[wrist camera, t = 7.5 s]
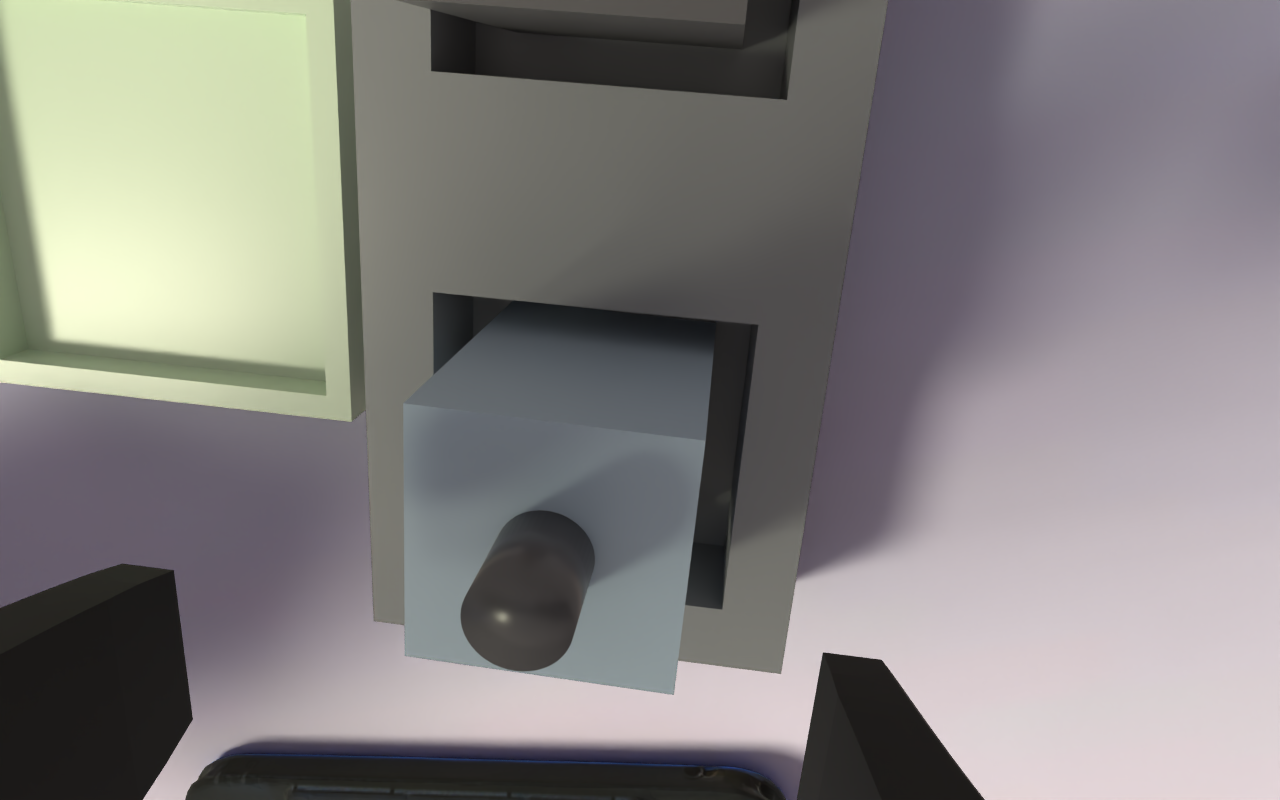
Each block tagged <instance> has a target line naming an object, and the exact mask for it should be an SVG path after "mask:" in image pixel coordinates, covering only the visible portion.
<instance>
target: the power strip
mask: <svg viewBox="0 0 1280 800" xmlns="http://www.w3.org/2000/svg"><path fill="white" fill-rule="evenodd" d="M887 5H888V0H748V3H747V12H746V21H745V30H744V38H743V47H742V50H740V49H727V48H714V47H701V46H688V45H675V44H662V43H649V42H636V41H623V40H609V39H596V38H583V37H570V36H557V35H544V34H531V33H518V32H513V31H510V30H506V29H502V28H498V27H495V26H491V25H487V24H483V23H480V22H476V21H472V20H468V19H465V18H461V17H457V16H454V15H450V14H446V13H442V12H439V11H435V10H431V9H427V8H424V7H420V6H416V5H412V4H409V3H405V2H401V1H397V0H351V24H352V50H353V77H354V104H355V131H356V158H357V184H358V211H359V238H360V265H361V291H362V318H363V345H364V372H365V399H366V425H367V452H368V479H369V506H370V533H371V559H372V586H373V613H374V621H377V622H385V623H393V624H400V625H405V608H404V456H403V403H404V402H405V401H406V400H407V399H408V398H409V397H410V396H412V395H413V394H414V393H415V392H416V391H417V390H418V389H419V388H420V387H421V386H422V385H423V384H424V383H425V382H427V381H428V380H429V379H430V378H431V377H432V376H433V375H434V374H435V373H436V372H437V371H438V370H439V369H440V368H442V367H443V366H444V365H445V364H446V363H447V362H448V361H449V360H450V359H451V358H452V357H453V356H454V355H455V354H457V353H458V352H459V351H460V350H461V349H462V348H463V347H464V346H465V345H466V344H467V343H468V342H469V341H470V340H472V339H473V338H474V337H475V336H476V335H477V334H478V333H479V332H480V331H481V330H482V329H483V328H484V327H485V326H486V325H488V324H489V323H490V322H491V321H492V320H493V319H494V318H495V317H496V316H497V315H498V314H499V313H500V312H501V311H503V310H504V309H505V308H506V307H507V306H508V305H509V304H510V303H511V302H512V301H513V300H516V301H526V302H536V303H546V304H555V305H563V306H572V307H581V308H590V309H598V310H607V311H616V312H625V313H633V314H642V315H651V316H660V317H668V318H677V319H686V320H695V321H703V322H712V323H716V332H715V343H714V354H713V365H712V376H711V387H710V398H709V409H708V420H707V432H706V442H705V450H704V458H703V466H702V474H701V482H700V490H699V498H698V506H697V514H696V522H695V530H694V538H693V545H692V553H691V561H690V569H689V577H688V585H687V593H686V601H685V609H684V617H683V625H682V633H681V641H680V649H679V657H678V661H685V662H693V663H701V664H709V665H716V666H724V667H732V668H739V669H747V670H755V671H762V672H770V673H778V674H781V670H782V664H783V658H784V651H785V645H786V639H787V633H788V626H789V620H790V614H791V607H792V601H793V595H794V589H795V582H796V576H797V570H798V563H799V557H800V551H801V545H802V538H803V532H804V526H805V519H806V513H807V507H808V501H809V494H810V488H811V482H812V476H813V469H814V463H815V457H816V450H817V444H818V438H819V432H820V425H821V419H822V413H823V406H824V400H825V394H826V388H827V381H828V375H829V369H830V362H831V356H832V350H833V344H834V337H835V331H836V325H837V319H838V312H839V306H840V300H841V293H842V287H843V281H844V275H845V268H846V262H847V256H848V249H849V243H850V237H851V231H852V224H853V218H854V212H855V205H856V199H857V193H858V187H859V180H860V174H861V168H862V162H863V155H864V149H865V143H866V136H867V130H868V124H869V118H870V111H871V105H872V99H873V92H874V86H875V80H876V74H877V67H878V61H879V55H880V48H881V42H882V36H883V30H884V23H885V17H886V11H887Z"/></svg>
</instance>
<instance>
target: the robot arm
mask: <svg viewBox="0 0 1280 800" xmlns="http://www.w3.org/2000/svg"><path fill="white" fill-rule="evenodd" d="M192 720H193V717H192V710H191V702H190V694H189V686H188V679H187V671H186V663H185V655H184V647H183V640H182V632H181V624H180V616H179V608H178V601H177V593H176V585H175V577H174V570H167V569H159V568H151V567H143V566H136V565H128V564H120V565H117V566H113V567H110V568H107V569H104V570H100V571H97V572H94V573H91V574H88V575H85V576H83V577H80V578H77V579H74V580H72V581H69V582H66V583H63V584H61V585H58V586H56V587H53V588H50V589H48V590H45V591H42V592H40V593H37V594H35V595H32V596H30V597H27V598H25V599H22V600H20V601H17V602H14V603H12V604H9V605H7V606H4V607H2V608H0V800H143V798H144V797H145V795H146V794H147V792H148V791H149V789H150V788H151V786H152V785H153V783H154V781H155V780H156V778H157V777H158V775H159V774H160V772H161V771H162V769H163V768H164V766H165V765H166V763H167V761H168V760H169V758H170V756H171V755H172V753H173V751H174V750H175V748H176V746H177V745H178V743H179V741H180V740H181V738H182V736H183V735H184V733H185V731H186V730H187V728H188V726H189V725H190V723H191V721H192ZM797 800H984V798H983V797H982V796H981V794H980V793H979V792H978V791H977V789H976V788H975V787H974V786H973V784H972V783H971V782H970V780H969V779H968V778H967V776H966V775H965V774H964V772H963V771H962V770H961V768H960V767H959V766H958V764H957V763H956V762H955V760H954V759H953V758H952V756H951V755H950V754H949V752H948V751H947V750H946V748H945V747H944V745H943V744H942V743H941V741H940V740H939V739H938V737H937V736H936V734H935V733H934V732H933V730H932V729H931V728H930V726H929V725H928V723H927V722H926V721H925V719H924V718H923V716H922V715H921V714H920V712H919V711H918V709H917V708H916V707H915V705H914V704H913V702H912V701H911V700H910V698H909V697H908V695H907V694H906V692H905V691H904V690H903V688H902V687H901V685H900V684H899V683H898V681H897V680H896V678H895V677H894V676H893V674H892V673H891V672H890V670H889V669H888V668H887V666H886V665H885V664H884V662H883V661H882V660H878V659H870V658H863V657H855V656H847V655H839V654H831V653H823V655H822V661H821V667H820V672H819V678H818V684H817V689H816V695H815V700H814V706H813V712H812V717H811V723H810V729H809V734H808V740H807V745H806V751H805V757H804V762H803V768H802V774H801V779H800V785H799V790H798V796H797Z"/></svg>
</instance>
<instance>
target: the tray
mask: <svg viewBox="0 0 1280 800" xmlns="http://www.w3.org/2000/svg"><path fill="white" fill-rule="evenodd" d="M0 382H1V383H10V384H19V385H28V386H37V387H46V388H55V389H64V390H72V391H81V392H90V393H99V394H108V395H117V396H126V397H135V398H144V399H153V400H162V401H170V402H179V403H188V404H197V405H206V406H215V407H224V408H233V409H242V410H251V411H259V412H268V413H277V414H286V415H295V416H304V417H313V418H322V419H331V420H340V421H348V422H352V421H353V420H354V419H356V418H357V417H358V416H359V415H360V414H361V413H363V412H364V411H365V410H366V399H365V372H364V345H363V318H362V291H361V265H360V238H359V211H358V184H357V158H356V131H355V104H354V77H353V50H352V24H351V0H0Z"/></svg>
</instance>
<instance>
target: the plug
mask: <svg viewBox="0 0 1280 800" xmlns="http://www.w3.org/2000/svg"><path fill="white" fill-rule="evenodd" d="M715 332H716V323H712V322H703V321H695V320H686V319H677V318H668V317H660V316H651V315H642V314H633V313H625V312H616V311H607V310H598V309H590V308H581V307H572V306H563V305H555V304H546V303H536V302H526V301H516V300H513V301H512V302H511V303H510V304H509V305H508V306H507V307H506V308H505V309H504V310H503V311H501V312H500V313H499V314H498V315H497V316H496V317H495V318H494V319H493V320H492V321H491V322H490V323H489V324H488V325H486V326H485V327H484V328H483V329H482V330H481V331H480V332H479V333H478V334H477V335H476V336H475V337H474V338H473V339H472V340H470V341H469V342H468V343H467V344H466V345H465V346H464V347H463V348H462V349H461V350H460V351H459V352H458V353H457V354H455V355H454V356H453V357H452V358H451V359H450V360H449V361H448V362H447V363H446V364H445V365H444V366H443V367H442V368H440V369H439V370H438V371H437V372H436V373H435V374H434V375H433V376H432V377H431V378H430V379H429V380H428V381H427V382H425V383H424V384H423V385H422V386H421V387H420V388H419V389H418V390H417V391H416V392H415V393H414V394H413V395H412V396H410V397H409V398H408V399H407V400H406V401H405V402H404V403H403V456H404V608H405V656H409V657H416V658H423V659H429V660H436V661H443V662H450V663H457V664H464V665H471V666H478V667H485V668H492V669H499V670H506V671H512V672H519V673H526V674H533V675H540V676H547V677H554V678H561V679H568V680H575V681H582V682H589V683H595V684H602V685H609V686H616V687H623V688H630V689H637V690H644V691H651V692H658V693H665V694H672V695H674V689H675V681H676V673H677V665H678V657H679V649H680V641H681V633H682V625H683V617H684V609H685V601H686V593H687V585H688V577H689V569H690V561H691V553H692V545H693V538H694V530H695V522H696V514H697V506H698V498H699V490H700V482H701V474H702V466H703V458H704V450H705V442H706V432H707V420H708V409H709V398H710V387H711V376H712V365H713V354H714V343H715Z"/></svg>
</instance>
